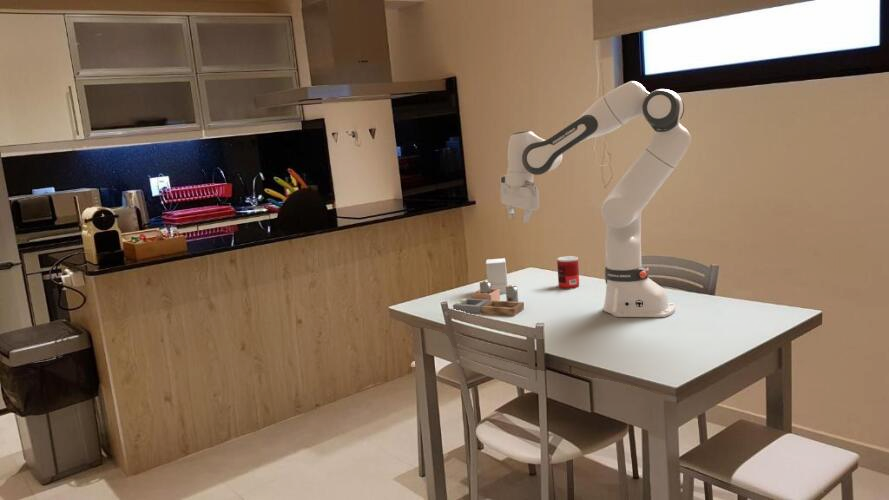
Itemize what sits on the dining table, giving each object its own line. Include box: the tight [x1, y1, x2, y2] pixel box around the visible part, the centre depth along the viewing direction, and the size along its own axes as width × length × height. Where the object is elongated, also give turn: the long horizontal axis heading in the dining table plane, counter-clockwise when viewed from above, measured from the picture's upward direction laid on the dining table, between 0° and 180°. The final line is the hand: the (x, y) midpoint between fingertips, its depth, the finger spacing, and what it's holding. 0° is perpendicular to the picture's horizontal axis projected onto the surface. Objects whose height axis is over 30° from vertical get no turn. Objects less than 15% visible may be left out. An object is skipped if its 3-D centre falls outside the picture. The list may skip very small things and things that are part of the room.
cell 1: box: [479, 280, 492, 294], centre depth 245 cm, size 4×4×8 cm
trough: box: [481, 300, 525, 317], centre depth 231 cm, size 12×8×3 cm, turn 60°
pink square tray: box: [472, 288, 501, 301], centre depth 245 cm, size 7×7×4 cm
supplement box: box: [485, 257, 509, 295], centre depth 257 cm, size 7×7×13 cm
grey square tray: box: [452, 297, 490, 315], centre depth 238 cm, size 10×9×3 cm
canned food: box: [556, 255, 580, 290], centre depth 258 cm, size 8×8×11 cm
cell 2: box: [505, 284, 519, 302], centre depth 238 cm, size 4×4×8 cm
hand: (518, 220), depth 233 cm, fingers open, 8 cm apart
